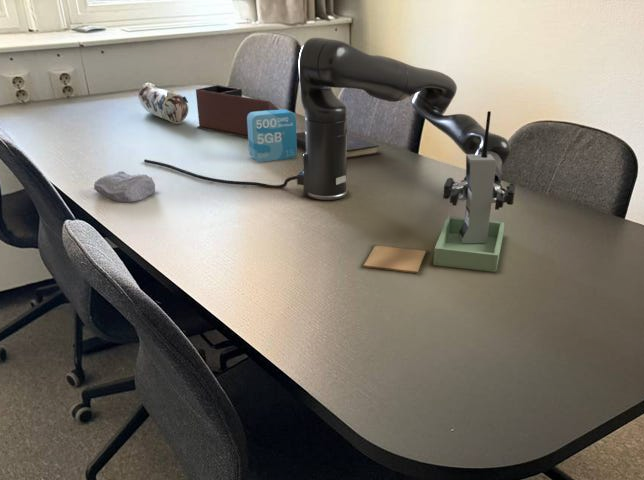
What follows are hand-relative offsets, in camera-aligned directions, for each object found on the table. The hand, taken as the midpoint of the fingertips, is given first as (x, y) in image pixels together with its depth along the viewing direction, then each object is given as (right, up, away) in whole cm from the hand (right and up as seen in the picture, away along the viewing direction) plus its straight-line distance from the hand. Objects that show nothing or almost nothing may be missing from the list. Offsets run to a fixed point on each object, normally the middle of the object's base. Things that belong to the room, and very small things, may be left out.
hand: (475, 202), depth 135 cm
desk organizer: (-58, +39, +78) cm, 105 cm away
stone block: (-76, +7, +26) cm, 81 cm away
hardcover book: (-31, +30, +65) cm, 78 cm away
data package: (-46, +24, +54) cm, 75 cm away
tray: (-1, -9, +2) cm, 9 cm away
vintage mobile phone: (0, -6, +6) cm, 9 cm away
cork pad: (-15, -11, -2) cm, 19 cm away
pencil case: (-86, +48, +92) cm, 134 cm away
